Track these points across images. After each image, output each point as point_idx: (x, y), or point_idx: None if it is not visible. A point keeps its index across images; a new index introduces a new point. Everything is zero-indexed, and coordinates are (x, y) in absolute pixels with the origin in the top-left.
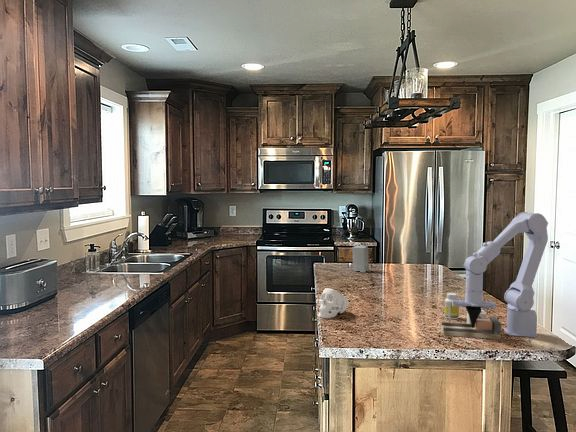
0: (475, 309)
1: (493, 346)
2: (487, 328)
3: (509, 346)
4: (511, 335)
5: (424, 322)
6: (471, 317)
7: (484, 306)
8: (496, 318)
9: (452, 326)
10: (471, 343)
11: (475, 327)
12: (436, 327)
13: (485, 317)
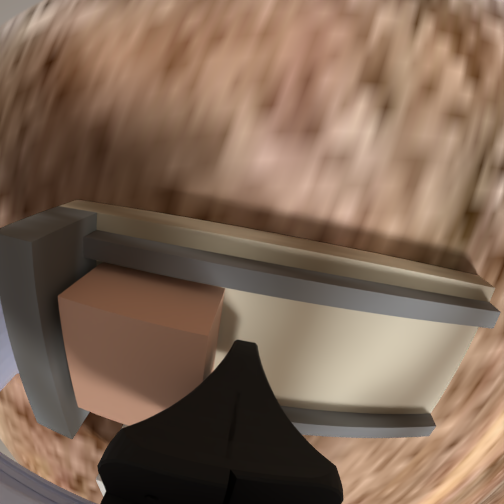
0: (205, 488)
1: (189, 15)
2: (124, 282)
3: (78, 45)
4: None
5: (433, 464)
6: (268, 406)
7: (50, 501)
8: (26, 389)
9: (376, 402)
10: (351, 73)
11: (213, 368)
12: None
13: None
